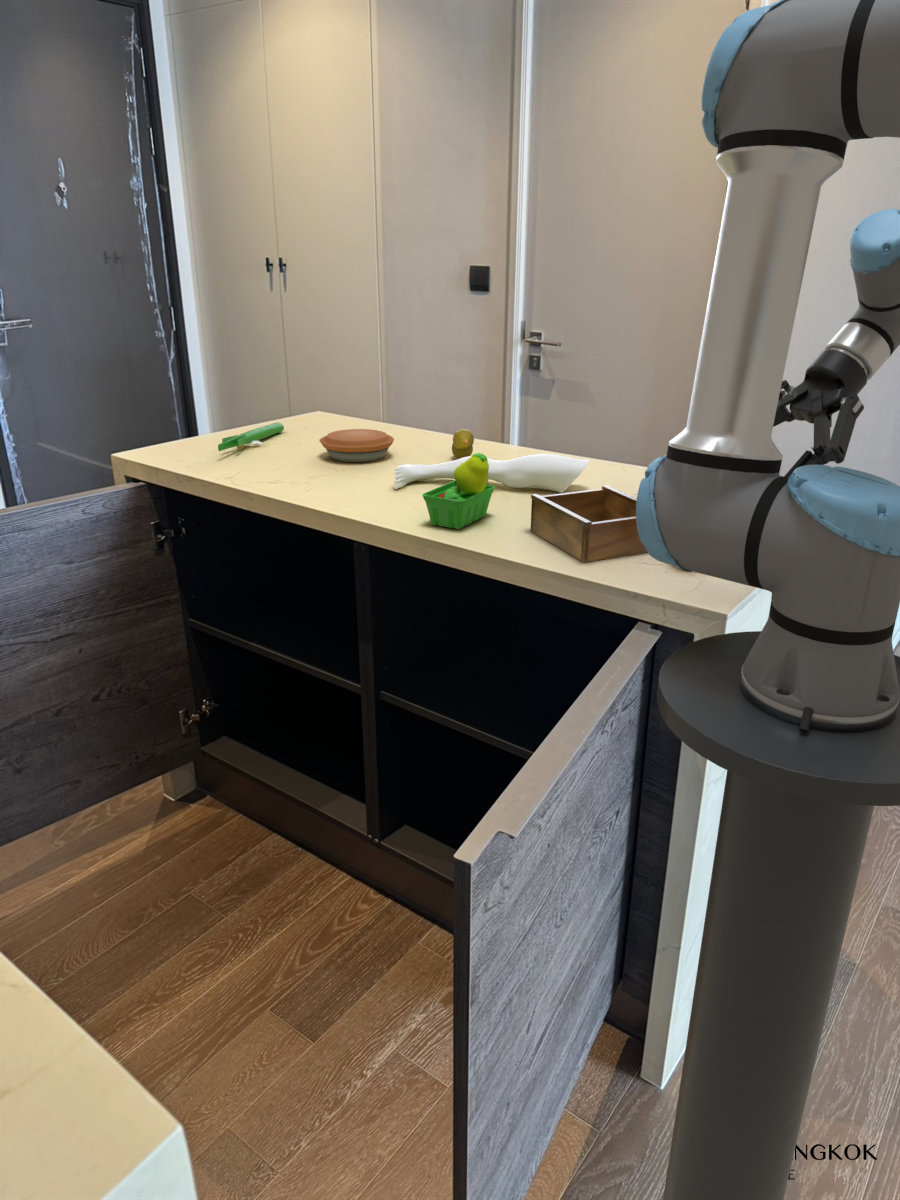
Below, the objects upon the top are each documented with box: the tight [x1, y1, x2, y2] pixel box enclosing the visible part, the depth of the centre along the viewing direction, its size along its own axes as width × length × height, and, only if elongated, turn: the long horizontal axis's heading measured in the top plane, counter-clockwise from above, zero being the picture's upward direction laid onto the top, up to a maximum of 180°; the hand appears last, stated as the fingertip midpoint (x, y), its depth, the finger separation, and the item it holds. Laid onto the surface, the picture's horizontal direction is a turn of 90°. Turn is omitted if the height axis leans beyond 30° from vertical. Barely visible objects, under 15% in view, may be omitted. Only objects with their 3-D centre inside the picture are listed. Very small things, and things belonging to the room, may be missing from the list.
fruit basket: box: [422, 452, 496, 530], centre depth 137 cm, size 11×9×11 cm
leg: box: [393, 453, 591, 494], centre depth 157 cm, size 7×35×10 cm
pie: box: [318, 428, 395, 463], centre depth 180 cm, size 15×16×5 cm
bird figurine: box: [451, 428, 475, 460], centre depth 178 cm, size 4×15×6 cm, turn 6°
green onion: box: [217, 422, 285, 452], centre depth 190 cm, size 5×3×30 cm
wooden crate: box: [530, 484, 648, 563], centre depth 129 cm, size 16×14×6 cm
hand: (744, 482), depth 119 cm, fingers open, 13 cm apart
